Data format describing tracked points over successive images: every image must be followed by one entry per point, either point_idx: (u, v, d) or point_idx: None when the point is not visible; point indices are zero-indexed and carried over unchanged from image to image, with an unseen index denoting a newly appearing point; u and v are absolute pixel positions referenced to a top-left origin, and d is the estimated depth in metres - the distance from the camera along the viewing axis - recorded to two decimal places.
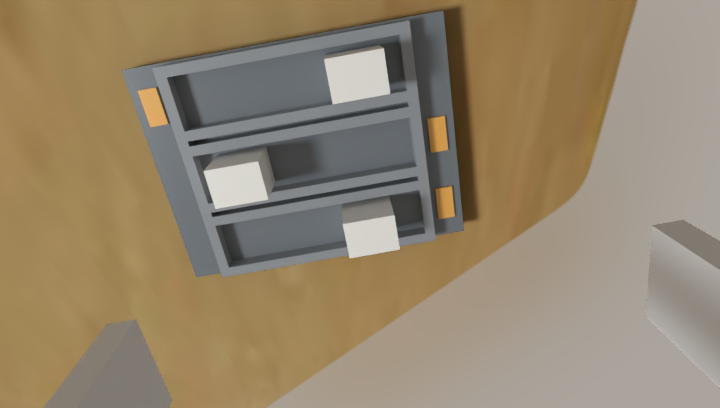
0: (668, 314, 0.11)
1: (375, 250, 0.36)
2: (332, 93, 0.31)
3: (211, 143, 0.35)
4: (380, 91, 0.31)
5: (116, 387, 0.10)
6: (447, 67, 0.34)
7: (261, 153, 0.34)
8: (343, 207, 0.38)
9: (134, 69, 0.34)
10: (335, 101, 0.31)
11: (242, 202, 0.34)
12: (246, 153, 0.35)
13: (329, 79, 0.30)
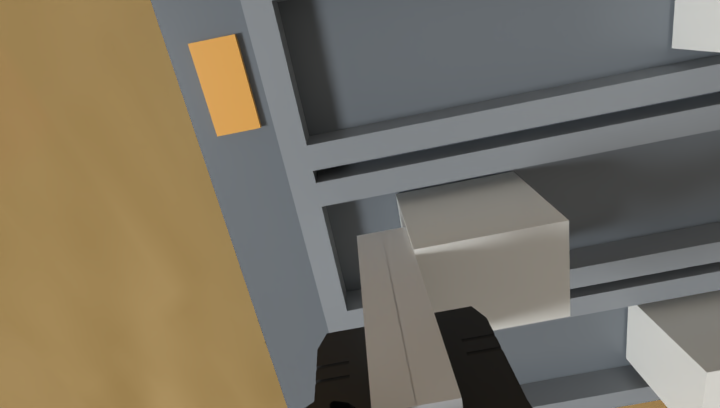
0: None
1: None
2: None
3: (370, 174, 0.14)
4: None
5: None
6: None
7: (533, 192, 0.13)
8: (643, 308, 0.17)
9: None
10: None
11: (502, 324, 0.13)
12: (481, 190, 0.14)
13: None
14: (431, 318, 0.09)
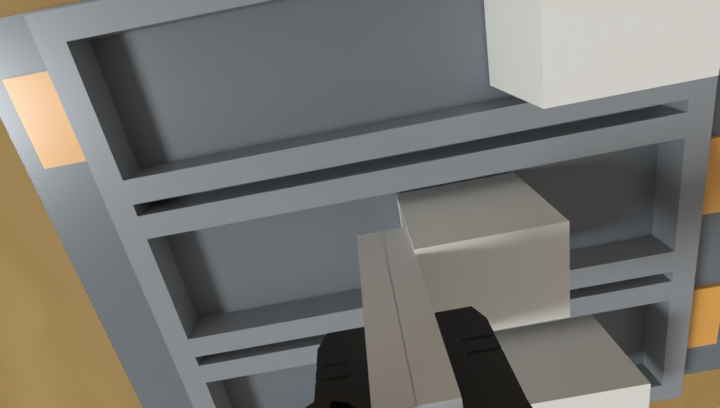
0: None
1: None
2: (548, 75, 0.10)
3: (192, 207, 0.14)
4: (690, 67, 0.10)
5: None
6: None
7: (533, 192, 0.13)
8: None
9: None
10: (553, 100, 0.10)
11: (501, 325, 0.13)
12: (481, 191, 0.14)
13: (546, 31, 0.10)
14: (431, 318, 0.09)
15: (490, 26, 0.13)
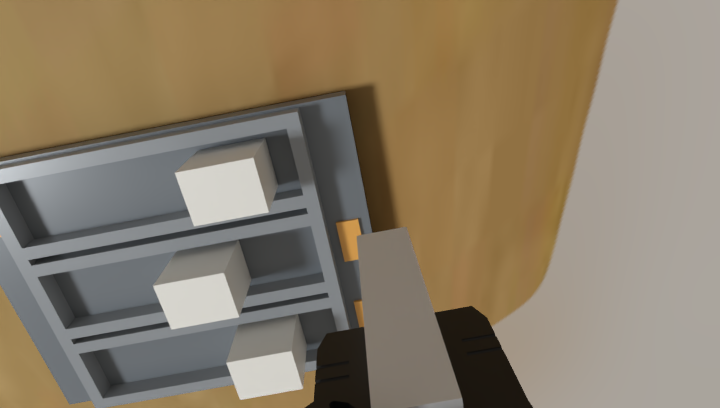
0: None
1: (271, 390, 0.28)
2: (191, 213, 0.23)
3: (59, 261, 0.27)
4: (254, 209, 0.23)
5: None
6: (356, 162, 0.27)
7: (230, 254, 0.27)
8: (238, 328, 0.30)
9: None
10: (197, 223, 0.24)
11: (205, 321, 0.26)
12: (212, 252, 0.28)
13: (185, 197, 0.23)
14: (432, 318, 0.09)
15: None
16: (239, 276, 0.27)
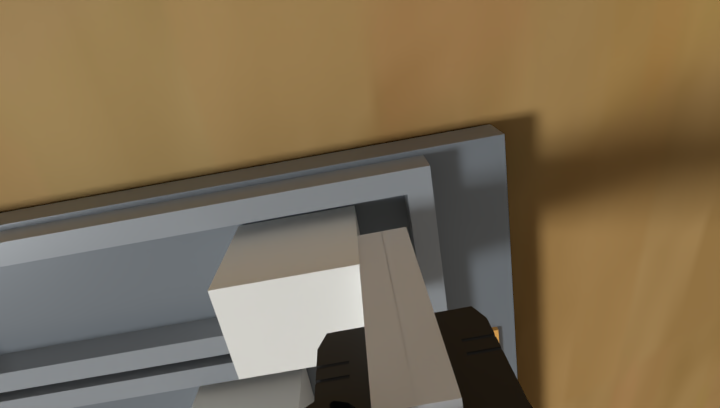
0: None
1: None
2: (236, 358, 0.13)
3: (11, 400, 0.17)
4: None
5: None
6: (507, 243, 0.16)
7: (297, 397, 0.16)
8: None
9: None
10: (245, 374, 0.13)
11: None
12: (264, 386, 0.17)
13: (225, 331, 0.12)
14: (431, 318, 0.09)
15: None
16: None
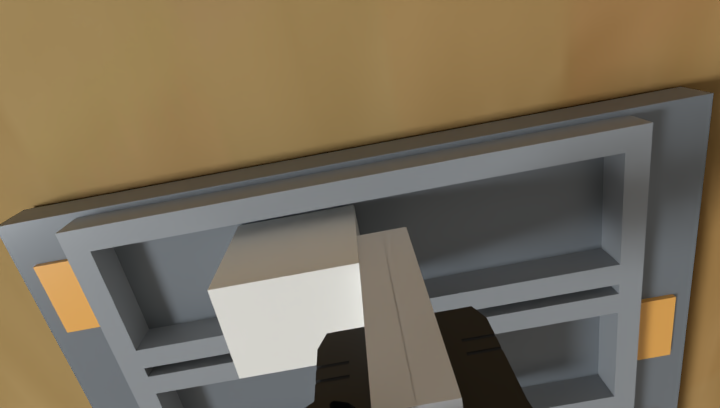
0: None
1: None
2: (236, 358, 0.13)
3: (195, 369, 0.16)
4: None
5: None
6: (697, 206, 0.16)
7: None
8: None
9: (23, 224, 0.15)
10: (245, 373, 0.13)
11: None
12: None
13: (226, 331, 0.12)
14: (431, 318, 0.09)
15: None
16: None
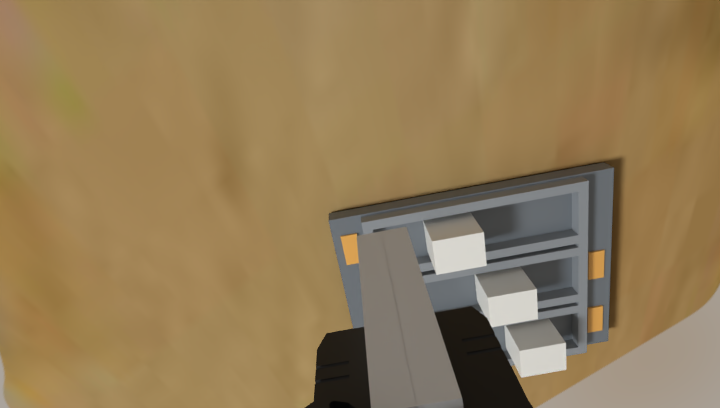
0: None
1: (544, 370, 0.40)
2: (437, 266, 0.36)
3: None
4: (477, 264, 0.36)
5: None
6: (611, 211, 0.39)
7: (526, 275, 0.39)
8: (507, 327, 0.42)
9: (339, 219, 0.38)
10: (439, 272, 0.36)
11: (515, 321, 0.38)
12: (507, 273, 0.40)
13: (435, 256, 0.35)
14: (431, 318, 0.09)
15: (425, 235, 0.38)
16: None
